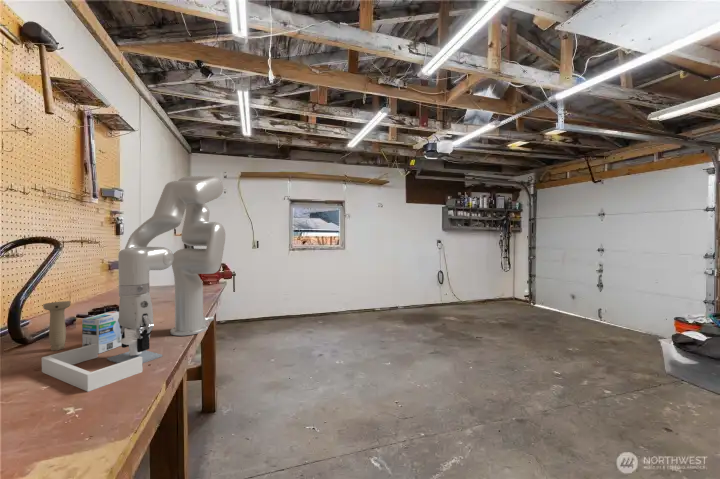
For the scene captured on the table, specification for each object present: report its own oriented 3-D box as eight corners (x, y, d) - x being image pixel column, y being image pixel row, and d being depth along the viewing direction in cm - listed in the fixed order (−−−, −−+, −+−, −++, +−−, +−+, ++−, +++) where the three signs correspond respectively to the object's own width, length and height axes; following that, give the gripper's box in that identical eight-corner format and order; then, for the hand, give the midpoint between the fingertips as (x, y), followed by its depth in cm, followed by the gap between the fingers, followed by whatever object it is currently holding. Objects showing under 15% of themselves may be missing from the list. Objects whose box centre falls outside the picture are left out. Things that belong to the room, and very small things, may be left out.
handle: (70, 349, 105) (70, 303, 105) (43, 353, 101) (42, 305, 101) (71, 345, 109) (70, 300, 109) (44, 349, 105) (43, 303, 104)
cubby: (95, 356, 99) (95, 343, 99) (142, 371, 88) (142, 357, 88) (41, 372, 88) (41, 357, 88) (87, 391, 77) (87, 375, 77)
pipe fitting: (149, 354, 97) (149, 327, 97) (119, 359, 93) (119, 331, 93) (149, 347, 103) (149, 322, 102) (121, 352, 99) (121, 326, 99)
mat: (139, 349, 104) (139, 348, 104) (162, 356, 99) (162, 354, 99) (107, 359, 96) (107, 358, 96) (130, 367, 91) (130, 365, 91)
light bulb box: (98, 354, 101) (98, 319, 101) (81, 352, 102) (80, 318, 102) (129, 343, 111) (129, 311, 111) (113, 341, 113) (112, 310, 112)
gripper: (165, 290, 97) (165, 349, 97) (131, 285, 105) (132, 340, 105) (138, 294, 90) (139, 357, 91) (104, 289, 98) (105, 347, 98)
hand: (135, 348), depth 98 cm, fingers closed on pipe fitting, 7 cm apart
